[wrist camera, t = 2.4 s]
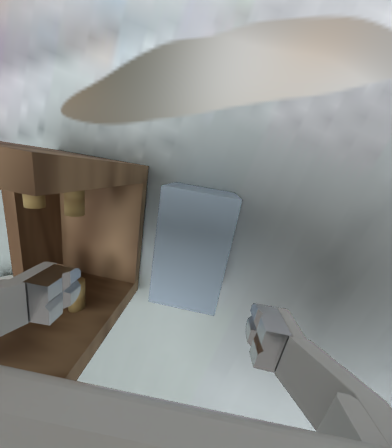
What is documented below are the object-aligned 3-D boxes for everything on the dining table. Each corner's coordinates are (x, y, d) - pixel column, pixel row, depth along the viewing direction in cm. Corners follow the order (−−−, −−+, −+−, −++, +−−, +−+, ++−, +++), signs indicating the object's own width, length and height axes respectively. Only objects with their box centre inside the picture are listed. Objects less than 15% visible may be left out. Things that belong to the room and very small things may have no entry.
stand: (148, 166, 17) (31, 151, 6) (137, 289, 20) (53, 414, 10) (56, 149, 17) (-201, 110, 6) (62, 273, 21) (-95, 375, 10)
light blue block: (234, 192, 17) (242, 200, 12) (214, 280, 19) (214, 315, 14) (176, 182, 17) (161, 185, 12) (164, 270, 20) (148, 301, 15)
